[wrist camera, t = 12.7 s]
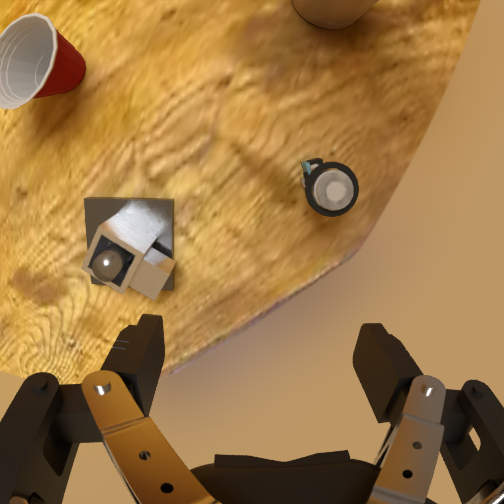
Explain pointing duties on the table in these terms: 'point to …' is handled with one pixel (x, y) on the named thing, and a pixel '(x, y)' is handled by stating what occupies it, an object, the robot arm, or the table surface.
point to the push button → (329, 187)
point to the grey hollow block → (144, 264)
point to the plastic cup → (36, 61)
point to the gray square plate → (142, 214)
